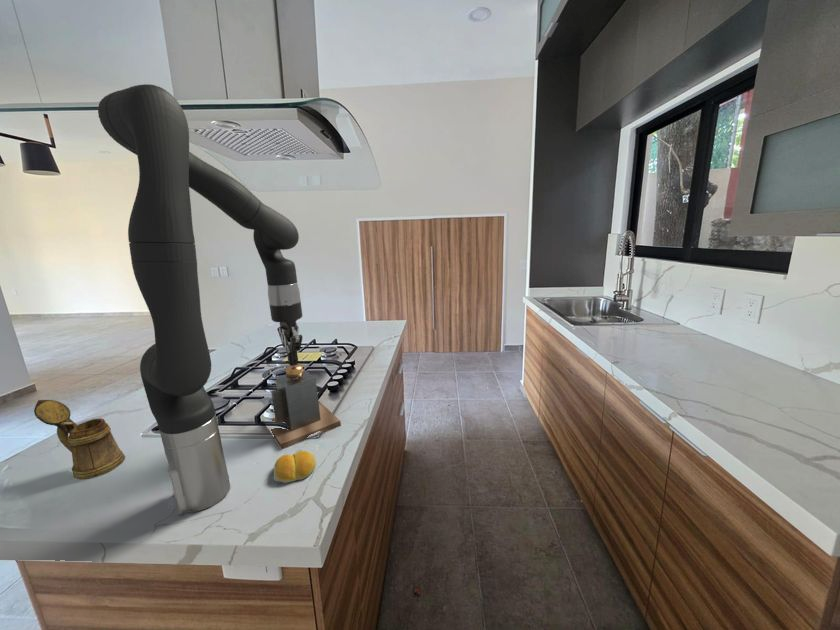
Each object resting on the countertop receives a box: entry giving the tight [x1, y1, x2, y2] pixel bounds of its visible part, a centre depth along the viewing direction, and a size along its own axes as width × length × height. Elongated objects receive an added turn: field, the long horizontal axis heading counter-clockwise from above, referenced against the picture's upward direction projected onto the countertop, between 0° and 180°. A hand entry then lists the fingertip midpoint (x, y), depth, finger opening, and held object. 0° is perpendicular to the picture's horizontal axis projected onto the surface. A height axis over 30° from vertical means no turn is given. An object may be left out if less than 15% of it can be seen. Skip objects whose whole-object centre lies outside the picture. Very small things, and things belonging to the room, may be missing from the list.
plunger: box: [284, 363, 304, 380], centre depth 93 cm, size 6×6×14 cm
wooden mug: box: [33, 399, 126, 480], centre depth 79 cm, size 9×14×18 cm, turn 93°
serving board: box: [271, 400, 342, 450], centre depth 96 cm, size 16×16×2 cm
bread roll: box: [273, 450, 317, 484], centre depth 77 cm, size 8×9×4 cm
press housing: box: [270, 368, 321, 431], centre depth 93 cm, size 10×8×13 cm
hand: (293, 364), depth 91 cm, fingers closed
